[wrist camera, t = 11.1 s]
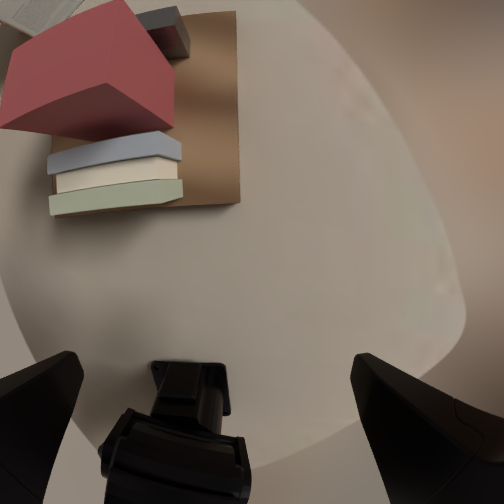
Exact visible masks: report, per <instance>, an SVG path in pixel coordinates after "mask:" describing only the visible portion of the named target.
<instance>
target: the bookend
mask: <svg viewBox="0 0 504 504" xmlns="http://www.w3.org/2000/svg"><path fill="white" fill-rule="evenodd" d="M135 16H136V17H137V19H138V20H139V21H140V23H141V24H142V26H143V27H144V28H145V30H146V31H147V33H148V34H149V35H150V37H151V38H152V40H153V41H154V42H155V44H156V45H157V47H158V48H159V50H160V51H161V52H162V54H163V55H164V57H165V58H166V60H167V61H170V60H177V59H184V58H190V47H191V40H190V37H189V35H188V32H187V30H186V27H185V25H184V23H183V20H182V18H181V15H180V13H179V11H178V8H177V6H173V7H167V8H162V9H157V10H153V11H149V12H144V13H140V14H137V15H135Z"/></svg>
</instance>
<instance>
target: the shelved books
mask: <svg viewBox="0 0 504 504" xmlns="http://www.w3.org/2000/svg"><path fill="white" fill-rule="evenodd" d="M179 160H182V155H181V143H180V142H179V141H177V140H175V139H173V138H171V137H170V136H168V135H166V134H164V133H162V132H160V131H155V132H148V133H142V134H136V135H130V136H125V137H119V138H114V139H109V140H105V141H100V142H96V143H91V144H87V145H83V146H79V147H75V148H71V149H68V150H64V151H61V152H57V153H54V154H50V155H47V175H53V174H56V182H57V194H56V195H51V196H49V208H50V216H51V215H58V214H65V213H73V212H80V211H88V210H97V209H105V208H114V207H124V206H135V205H146V204H158V203H164V202H167V201H171V200H174V199H178V198H181V197H183V184H182V179H178V176H177V161H179ZM66 192H67V193H66ZM59 193H62V194H59Z"/></svg>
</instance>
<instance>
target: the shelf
mask: <svg viewBox="0 0 504 504" xmlns="http://www.w3.org/2000/svg"><path fill="white" fill-rule="evenodd" d="M181 18H182V20H183V23H184V25H185V27H186V30H187V32H188V35H189V37H190V40H191V47H190V58H184V59H177V60H170V61H168V62H169V64H170V65H171V67H172V68H173V70H174V71H175V85H174V128H167V129H159V130H153V131H146V132H140V133H134V134H128V135H123V136H118V137H113V138H108V139H103V140H99V141H95V142H91V141H85V140H80V139H74V138H68V137H62V136H56V135H52V154H54V153H57V152H61V151H64V150H68V149H71V148H75V147H79V146H83V145H87V144H91V143H96V142H100V141H105V140H109V139H114V138H119V137H125V136H130V135H136V134H142V133H148V132H155V131H160V132H162V133H164V134H166V135H168V136H170V137H171V138H173V139H175V140H177V141H179V142H180V143H181V155H182V160H179V161H177V176H178V179H182V184H183V197H181V198H178V199H174V200H171V201H167V202H164V203H158V204H146V205H135V206H124V207H114V208H105V209H97V210H88V211H80V212H73V213H65V214H58V215H55V218H62V217H70V216H78V215H86V214H95V213H104V212H113V211H124V210H134V209H146V208H159V207H173V206H188V205H206V204H227V203H240V169H239V133H238V91H237V35H236V11H225V12H212V13H202V14H194V15H187V16H181ZM52 186H53V195H56V194H57V182H56V174H53V175H52ZM66 193H67V192H66ZM59 194H62V193H59Z"/></svg>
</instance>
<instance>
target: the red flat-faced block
mask: <svg viewBox="0 0 504 504" xmlns="http://www.w3.org/2000/svg"><path fill="white" fill-rule="evenodd" d="M174 85H175V71H174V70H173V68H172V67H171V65H170V64H169V62H168V61H167V60H166V58H165V57H164V55H163V54H162V52H161V51H160V50H159V48H158V47H157V45H156V44H155V42H154V41H153V40H152V38H151V37H150V35H149V34H148V33H147V31H146V30H145V28H144V27H143V26H142V24H141V23H140V21H139V20H138V19H137V17H136V16H135V15H134V13H133V12H132V11H131V9H130V8H129V7H128V5H127V4H126V3H125V1H124V0H113V1H110V2H107V3H105V4H102V5H99V6H97V7H94V8H92V9H89V10H87V11H84V12H82V13H80V14H77V15H75V16H73V17H71V18H69V19H67V20H65V21H62V22H60V23H58V24H56V25H55V26H53V27H51V28H49V29H47V30H45V31H43V32H42V33H40V34H38V35H36V36H35V37H33V38H31V39H30V40H28V41H27V42H25V43H23V44H22V45H20V46H19V47H17V48H16V49H14V50H13V52H12V55H11V59H10V62H9V66H8V70H7V75H6V79H5V84H4V89H3V95H2V101H1V107H0V128H2V129H12V130H20V131H28V132H36V133H43V134H50V135H56V136H62V137H68V138H74V139H80V140H85V141H91V142H95V141H99V140H103V139H108V138H113V137H118V136H123V135H128V134H134V133H140V132H146V131H153V130H159V129H167V128H174Z"/></svg>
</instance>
